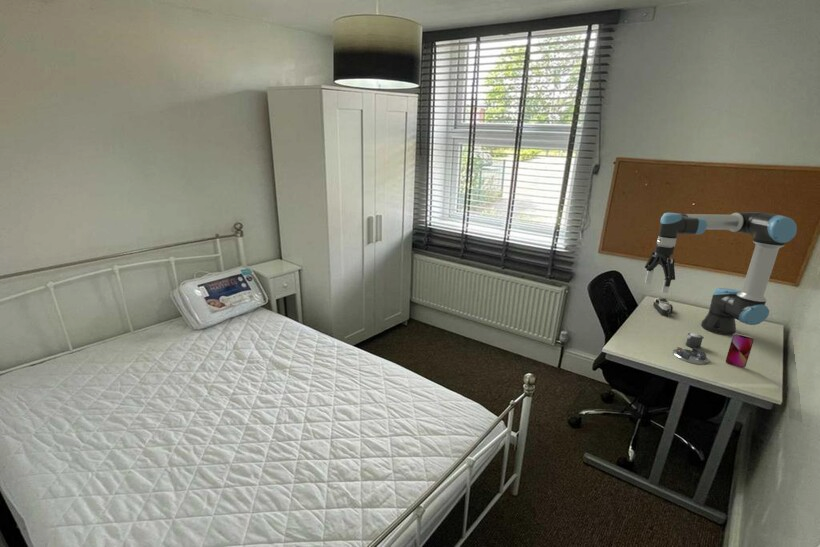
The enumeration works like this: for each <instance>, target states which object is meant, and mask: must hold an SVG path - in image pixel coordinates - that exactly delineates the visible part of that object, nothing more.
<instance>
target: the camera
mask: <svg viewBox="0 0 820 547" xmlns="http://www.w3.org/2000/svg"><path fill="white" fill-rule="evenodd" d="M653 306H654V307H653ZM652 307H653V308H654V309H655V310H656V311H657V312H658V313H659V315H660V316H662V317H668V316H669V313H670V314H672V313H673V311H674V306H673V304H671V303H670V302H669V301H668V300H667V298H660V297H656V298H654V300H653V305H652ZM668 312H669V313H668Z"/></svg>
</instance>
